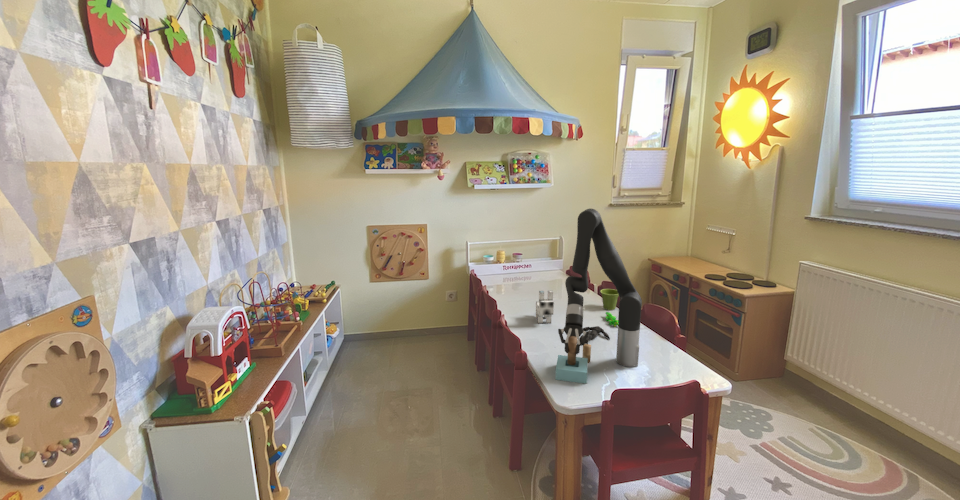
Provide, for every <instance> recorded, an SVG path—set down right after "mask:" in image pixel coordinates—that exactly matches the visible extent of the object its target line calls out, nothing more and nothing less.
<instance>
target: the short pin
mask: <svg viewBox="0 0 960 500" xmlns="http://www.w3.org/2000/svg"><path fill="white" fill-rule="evenodd" d="M591 349H592V345H591V344H589V343H588V344H586V343H585V344H584V345H582V357H581V358H588V364H590V363H591V355H592V350H591Z"/></svg>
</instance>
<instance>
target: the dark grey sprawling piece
mask: <svg viewBox="0 0 960 500" xmlns="http://www.w3.org/2000/svg"><path fill="white" fill-rule="evenodd" d="M582 328H583V331H585V332H589V336H588V338H587V340H586V342H585V344H589V341H590V340H591V341H593V340H595V339H596V338H597V336H598V335H599V334H602V335H603V336H604V337H605V338H607V340H609V341H610V339H611V338H610V336H609V334H608V333H607V332H606V331H604V329H603V328H602V327H601V326H598V325H597V326H591V327H590V326H585V327H582ZM583 338H584V336H583V334H581V335H580V337H579V340H580V342H582V340H583Z"/></svg>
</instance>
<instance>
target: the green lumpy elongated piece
mask: <svg viewBox="0 0 960 500" xmlns="http://www.w3.org/2000/svg"><path fill="white" fill-rule="evenodd" d="M604 318H605V322H607V323H608V325H609V326H614V327H615V328H616V327H617V326H618V319H617V317H616V316H615V315H613V314H612V312H610V311H605V316H604Z"/></svg>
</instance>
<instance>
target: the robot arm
mask: <svg viewBox="0 0 960 500" xmlns="http://www.w3.org/2000/svg"><path fill="white" fill-rule="evenodd" d="M576 228H577V230H576V231H577V233H576V235H577V236H576V244H575V245H576V246H575V250H574V256H573V261H572V267H571V270H572V272H574V273H575V274H578V275H581V277H580V276H574V275H569V276H568V277H566V279H565V281H564V283H565V290H566V293H567V307H566V310H565V323H564V324H565V325H564V327H563V328H558V330H557V333H558V335H559V339H560V342H561V344H564V352H565V353H566V354H568V338H569V336H575V337H577V346H576V356H577V355H578V354H580V348H581V347H582V346H583V345H584V344H586V343H585V342H586V340H587V338H588V336H589V332H588V331H583V328H584V327H583V325H584V324H583V322H584V297H583V296H582V295H581V294H582V293H586V292H587V291H588V289H589V279H588V268H589V263H590V257H591V243H593V247H594V252H595V255H596V258H597V261H598V263H599V265H600V267H601V269H602V271H603V272H604V274H605V275H606V277H607V278H608V279H609V280H610V282H612V284H613V285H614V287H615V290H617V292H618V294H619V296H618V298H619V304H618V314H617V315H618V316H617V317H618V318H617V320H618V325H617V339H616V356H615V357H616V358H615V360H616V363H617V364H618V365H621V366H623V367H630V368H632V367H638V366H639V355H640V354H639V353H640V345H639V344H640V343H639V342H640V333H641V332H640V329H641V319H642V317H641V316H642V306H643V300H642V298H641V295H640V294H639V292H638V291H637V289H636V287H635V286H634V284H633V282H632V280H631V279H630V277H629V275H628V271H627V269H626V267H625V265H624V262H623V260H622V258H621V255H620V254H619V252H618V250H617V249H616V246H615V245H614V243H613V241H612V239H611V238H610V236H609V234H608V231H607V230H606V227H605V225H604V221H603V219H602V216H601V214H600V213H599V211H598V210H597V209H594V208H587V209H585V210H582V211H581V212H580V213H579V214H578V217H577V227H576ZM579 293H581V294H579ZM564 333H565V335H566V337H565V338H564V335H563V334H564ZM582 335H583V336H584V338H583V340H582V342H580V340H579V339H580V337H581V336H582Z"/></svg>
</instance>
